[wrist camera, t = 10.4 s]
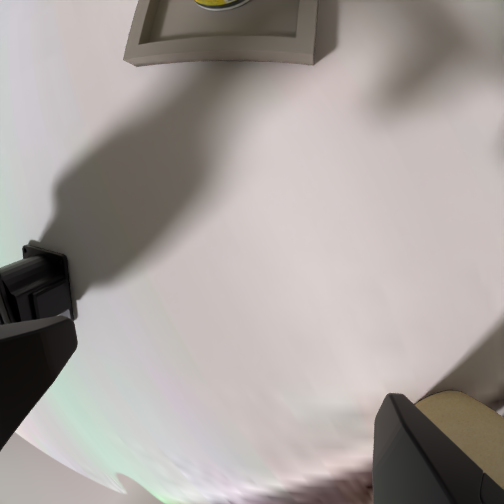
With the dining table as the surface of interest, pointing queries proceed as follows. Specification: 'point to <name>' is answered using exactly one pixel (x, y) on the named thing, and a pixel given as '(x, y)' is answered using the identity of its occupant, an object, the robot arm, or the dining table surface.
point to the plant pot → (469, 428)
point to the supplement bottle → (220, 4)
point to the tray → (222, 32)
